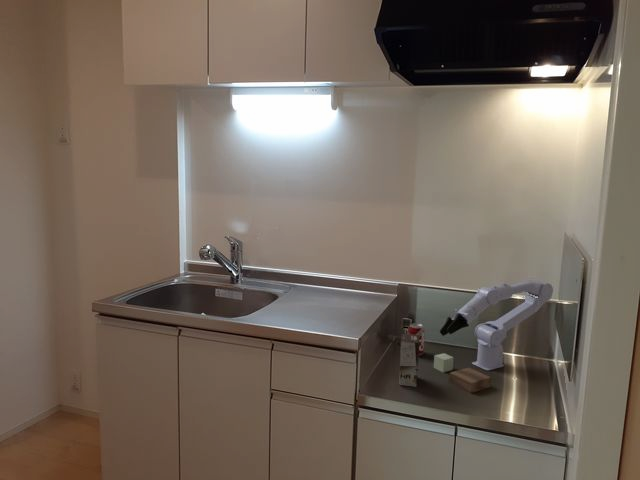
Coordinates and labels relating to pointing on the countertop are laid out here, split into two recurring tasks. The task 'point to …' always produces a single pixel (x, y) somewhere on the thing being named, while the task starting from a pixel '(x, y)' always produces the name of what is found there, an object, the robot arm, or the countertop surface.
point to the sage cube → (443, 362)
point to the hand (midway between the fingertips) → (444, 332)
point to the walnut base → (469, 380)
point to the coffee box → (409, 360)
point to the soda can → (420, 331)
